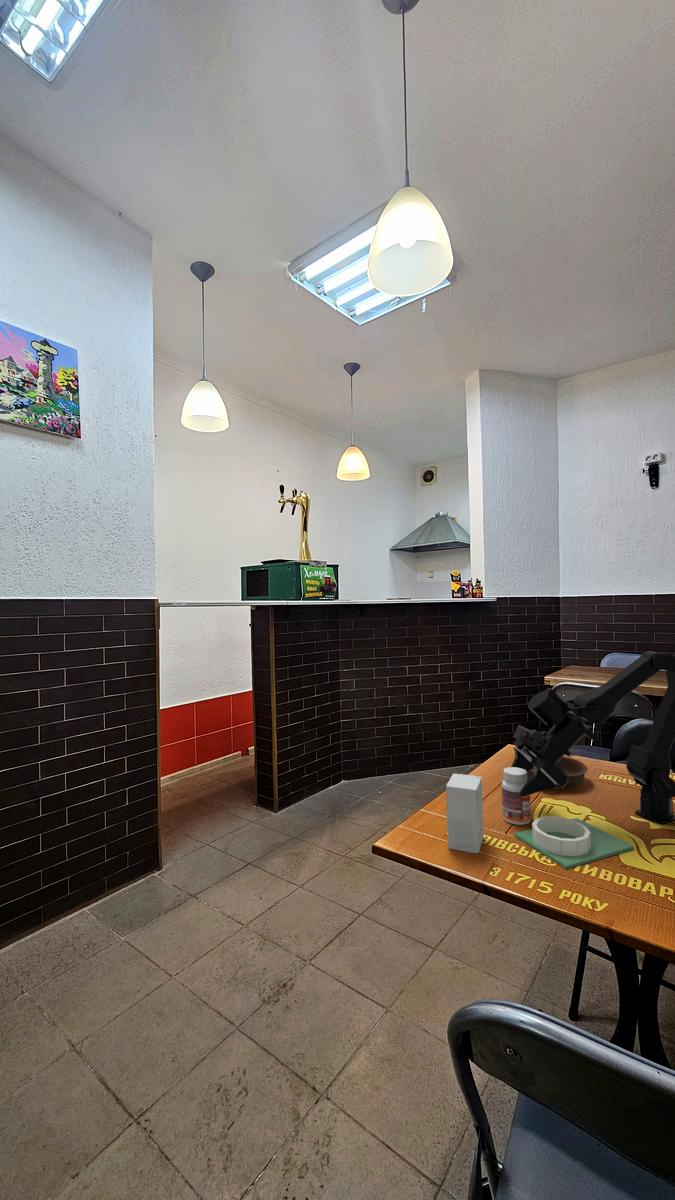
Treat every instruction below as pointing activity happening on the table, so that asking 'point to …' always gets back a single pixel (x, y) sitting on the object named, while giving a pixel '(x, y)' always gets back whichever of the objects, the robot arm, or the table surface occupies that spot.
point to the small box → (464, 813)
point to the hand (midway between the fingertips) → (513, 787)
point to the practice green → (571, 841)
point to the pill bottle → (515, 797)
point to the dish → (568, 772)
